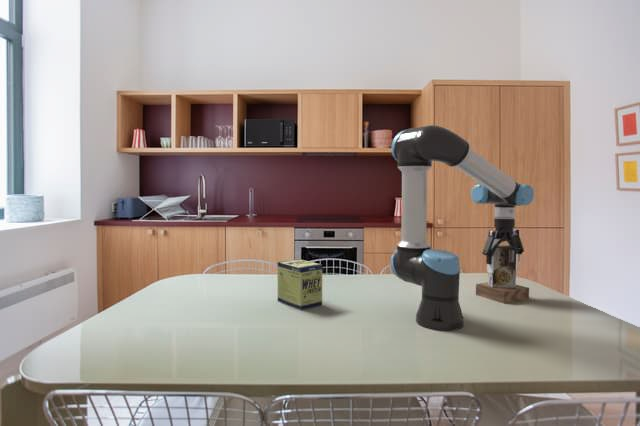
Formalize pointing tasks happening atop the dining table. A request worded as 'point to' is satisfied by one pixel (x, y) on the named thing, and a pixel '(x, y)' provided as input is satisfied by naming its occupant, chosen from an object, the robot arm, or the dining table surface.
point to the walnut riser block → (502, 293)
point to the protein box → (300, 283)
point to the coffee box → (503, 267)
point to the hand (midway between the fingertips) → (502, 271)
